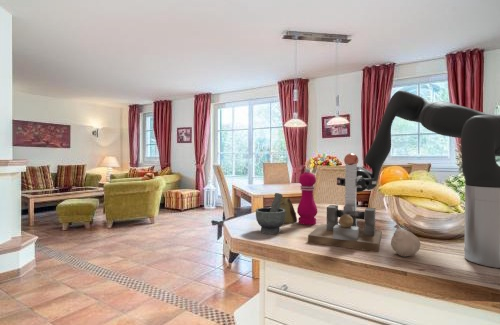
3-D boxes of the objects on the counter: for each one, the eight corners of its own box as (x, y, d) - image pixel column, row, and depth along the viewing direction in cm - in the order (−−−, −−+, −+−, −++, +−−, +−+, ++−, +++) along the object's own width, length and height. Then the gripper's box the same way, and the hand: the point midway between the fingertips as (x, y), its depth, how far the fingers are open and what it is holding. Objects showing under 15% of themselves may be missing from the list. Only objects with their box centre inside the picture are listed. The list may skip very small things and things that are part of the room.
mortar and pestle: (274, 237, 86) (274, 196, 86) (249, 232, 92) (249, 194, 92) (292, 229, 95) (292, 193, 95) (268, 225, 101) (269, 191, 101)
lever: (365, 229, 85) (365, 153, 85) (362, 235, 78) (363, 152, 78) (338, 226, 89) (339, 153, 88) (333, 231, 82) (334, 153, 82)
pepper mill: (320, 222, 106) (320, 168, 106) (313, 226, 100) (313, 168, 100) (301, 220, 110) (302, 167, 110) (294, 223, 104) (294, 168, 104)
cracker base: (381, 236, 87) (381, 206, 87) (378, 252, 72) (378, 216, 72) (321, 229, 95) (321, 202, 95) (307, 242, 80) (307, 210, 80)
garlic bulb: (386, 250, 74) (386, 219, 73) (412, 251, 73) (413, 220, 73) (396, 259, 67) (397, 225, 67) (426, 260, 66) (426, 226, 66)
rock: (261, 216, 106) (283, 216, 100) (267, 197, 110) (288, 196, 104) (275, 229, 112) (297, 230, 106) (280, 211, 116) (301, 210, 110)
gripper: (339, 169, 106) (330, 170, 90) (379, 170, 100) (376, 171, 84) (339, 190, 106) (329, 194, 90) (379, 191, 100) (376, 197, 84)
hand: (352, 183), depth 87 cm, fingers closed
